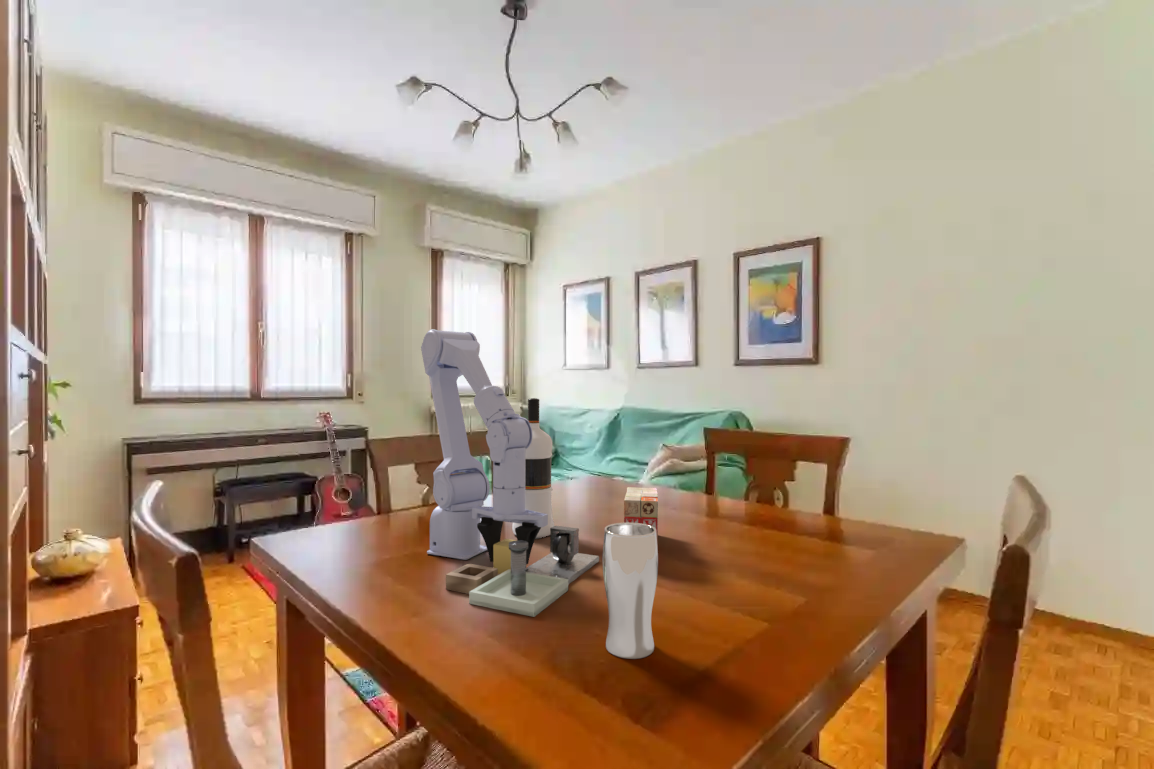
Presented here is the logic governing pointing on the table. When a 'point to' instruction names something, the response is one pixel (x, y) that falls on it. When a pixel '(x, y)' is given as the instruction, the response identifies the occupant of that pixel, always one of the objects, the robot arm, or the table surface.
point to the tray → (532, 603)
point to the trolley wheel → (563, 556)
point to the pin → (518, 567)
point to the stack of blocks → (642, 507)
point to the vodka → (538, 471)
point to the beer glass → (630, 587)
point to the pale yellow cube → (502, 555)
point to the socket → (469, 577)
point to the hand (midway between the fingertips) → (509, 562)
